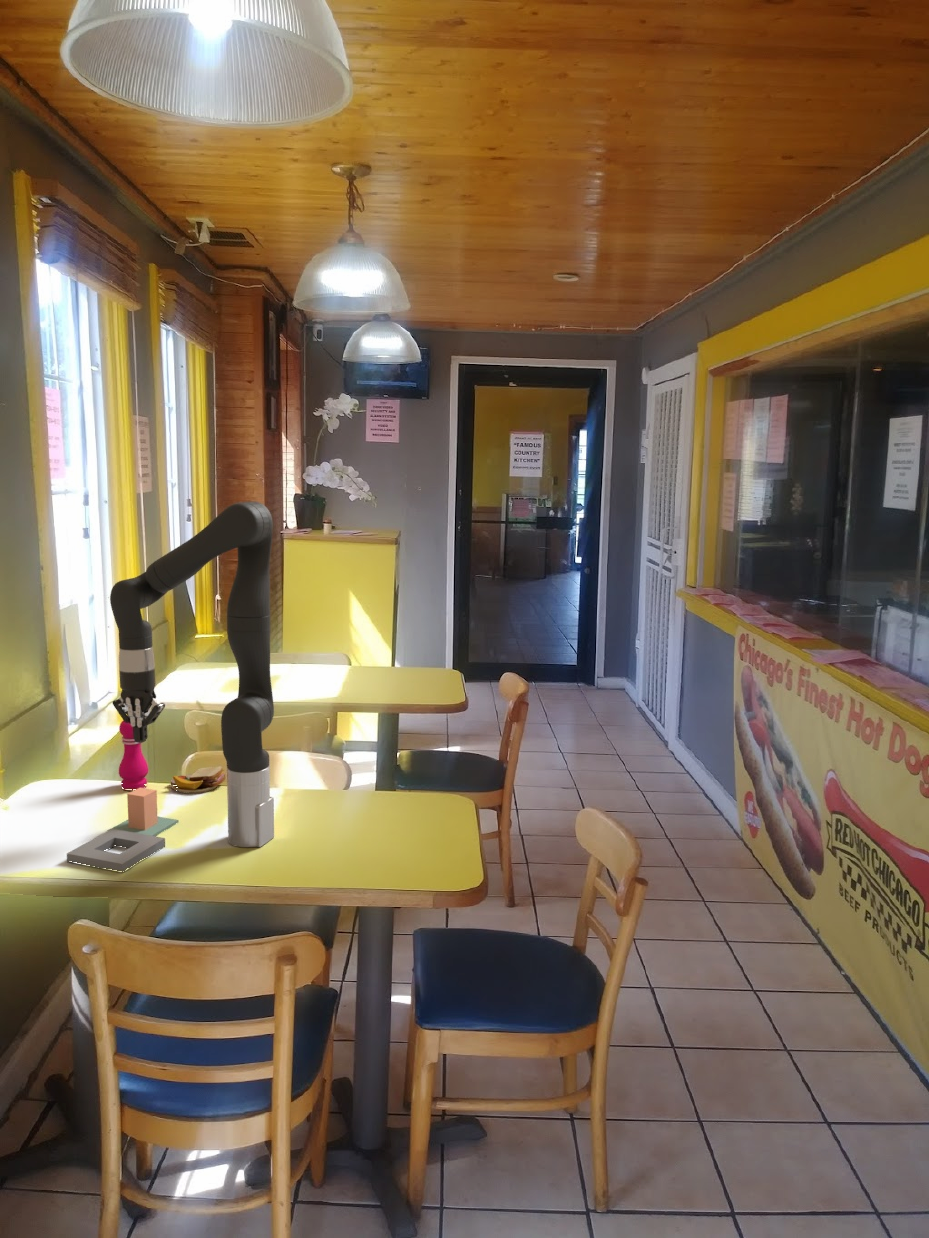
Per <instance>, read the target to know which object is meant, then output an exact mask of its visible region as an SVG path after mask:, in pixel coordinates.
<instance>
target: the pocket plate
mask: <svg viewBox="0 0 929 1238" xmlns="http://www.w3.org/2000/svg"><path fill="white" fill-rule="evenodd" d="M110 829H111V828H110ZM108 830H109V829H108ZM108 830H107V831H105V832H103V833H102V834H100V835H98V836H96V837H94V838H93V839H90V840H89V841H87V842H85V843H84V844H83V843H82V845H80V846H78V847H76V848H74V849H72V850H71V851H69V852H67V853H66V861H67V860H68V861H72V862H77V863H81V864H86V865H90V866H95V867H99V868H106V869H112V870H117V871H122V872H123V871H125V870H126V869H127V868H130V867H131V866H133V865H134V864H136V863H137V862H139V861H140V860H142V859H144V858H146V857H148V856H150V855H151V854H153V853H154V852H156V851H157V850H159V849H161V850H162V849H164V848H166V838H165V837H162V836H150V835H145V834H139V833H133V832H128V831H122V830H116V829H111V830H109V831H108ZM114 845H116V846H114ZM113 846H114V847H117V846H122V847H126V848H125V850H124V851H122V852H120V853H116V852H112V851H111V852H110V851H104V850H106V849H109V848H111V847H113ZM114 847H113V848H114ZM122 847H121V848H122ZM163 847H164V848H163ZM128 848H129V849H128ZM111 849H112V848H111ZM109 850H110V849H109ZM159 851H160V850H159ZM156 853H157V852H156ZM154 854H155V853H154ZM154 854H153V855H154ZM151 856H152V855H151ZM151 856H150V857H151ZM148 858H149V857H148ZM146 859H147V858H146ZM99 868H98V869H99ZM130 869H131V868H130Z"/></svg>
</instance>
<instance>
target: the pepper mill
mask: <svg viewBox="0 0 929 1238" xmlns="http://www.w3.org/2000/svg"><path fill="white" fill-rule="evenodd" d="M118 727H119V730H118V731H119V733H120V734H121V736H122V737H121V743H122V744H123V756H122V759H121V761H120V763H119V767H118V775H119V777H120V778H121V779H122V780H121V781H120V785H121V786H122V787H123V788H124V789H132V790H133V789H138V788H143V787H145V788H147V786H145V785H144V784H147V785H148V780H147V778H146V776H147V775H148V774H149V766H148V763H147V760H146V758H145V757H144V755H143V752H142V743H137V742H135V740H134V738H133V726H131V724H130V723H125V722H124V720H123V719H122V720H121V721H120V724H119V726H118ZM121 783H123V784H121ZM121 786H120V787H121Z"/></svg>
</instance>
